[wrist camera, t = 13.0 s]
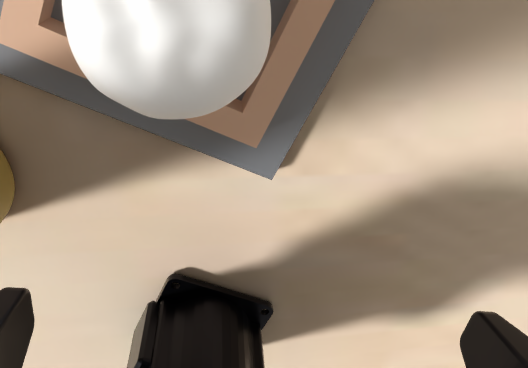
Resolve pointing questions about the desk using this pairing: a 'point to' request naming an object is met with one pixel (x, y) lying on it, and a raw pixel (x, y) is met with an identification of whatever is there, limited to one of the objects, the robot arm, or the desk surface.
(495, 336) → the robot arm
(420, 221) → the desk surface
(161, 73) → the milkshake
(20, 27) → the dock
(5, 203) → the brown tall cylinder
